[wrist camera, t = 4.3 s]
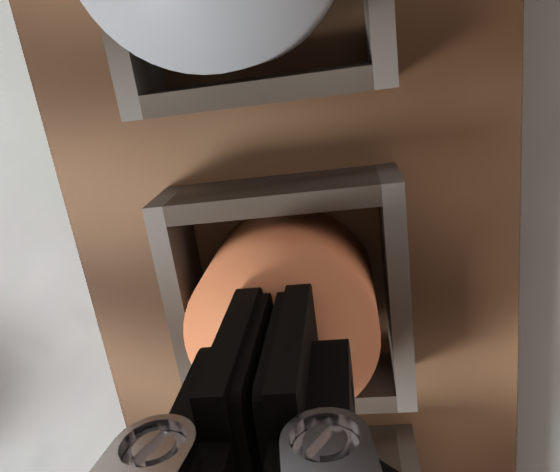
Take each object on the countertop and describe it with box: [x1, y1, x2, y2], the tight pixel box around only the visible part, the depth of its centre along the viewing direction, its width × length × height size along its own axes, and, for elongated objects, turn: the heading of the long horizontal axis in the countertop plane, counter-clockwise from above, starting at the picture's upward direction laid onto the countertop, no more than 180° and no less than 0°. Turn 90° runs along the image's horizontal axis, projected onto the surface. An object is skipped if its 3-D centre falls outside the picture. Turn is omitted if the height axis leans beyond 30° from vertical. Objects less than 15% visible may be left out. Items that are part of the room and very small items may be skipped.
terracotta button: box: [183, 212, 381, 397], centre depth 13 cm, size 4×4×3 cm
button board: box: [9, 0, 524, 472], centre depth 15 cm, size 24×12×4 cm, turn 8°
